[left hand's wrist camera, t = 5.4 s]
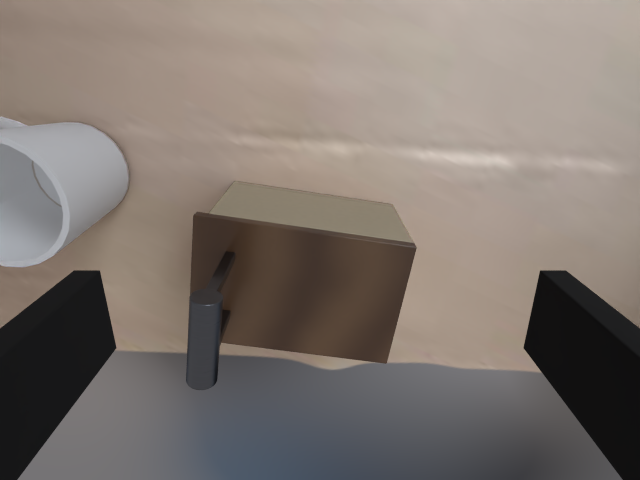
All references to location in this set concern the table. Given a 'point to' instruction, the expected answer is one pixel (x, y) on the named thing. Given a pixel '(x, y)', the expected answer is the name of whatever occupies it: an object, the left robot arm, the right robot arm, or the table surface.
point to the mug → (54, 186)
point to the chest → (312, 211)
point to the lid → (291, 291)
